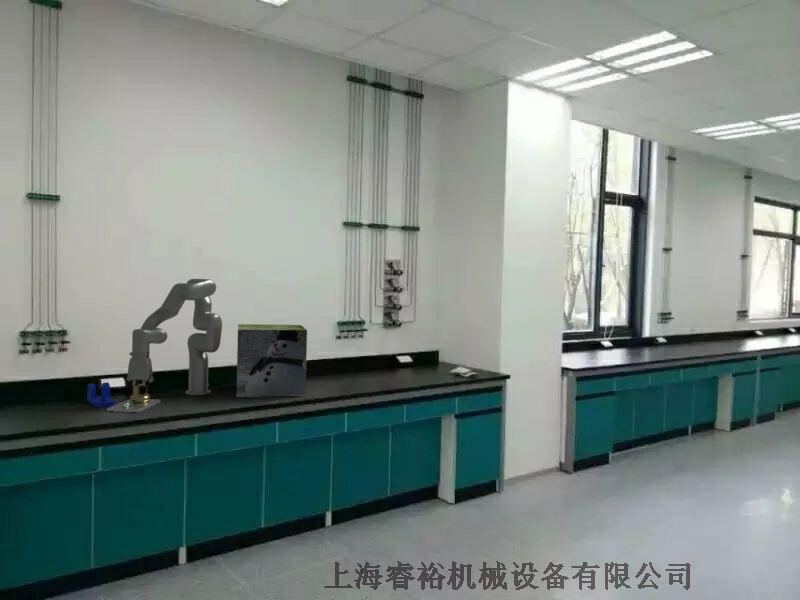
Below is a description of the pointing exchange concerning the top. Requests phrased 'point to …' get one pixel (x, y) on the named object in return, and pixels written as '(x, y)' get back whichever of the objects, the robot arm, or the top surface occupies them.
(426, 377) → the top surface
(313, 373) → the top surface
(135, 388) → the footscrew knob
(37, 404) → the top surface
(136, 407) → the plate
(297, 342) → the photo cube
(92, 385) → the bracket
